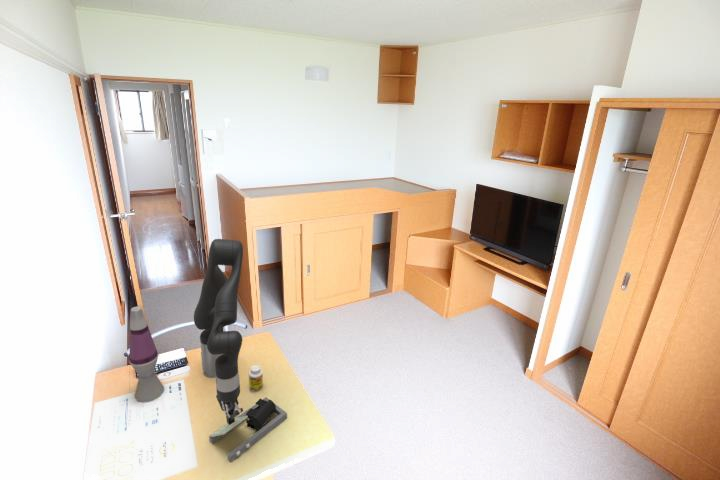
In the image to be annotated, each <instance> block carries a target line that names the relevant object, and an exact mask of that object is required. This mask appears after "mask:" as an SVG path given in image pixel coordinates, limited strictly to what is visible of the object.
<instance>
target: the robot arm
mask: <svg viewBox="0 0 720 480" xmlns="http://www.w3.org/2000/svg"><path fill="white" fill-rule="evenodd" d="M243 246H244V245H243V243H242V242H241V241H240V240H236V239H227V238H226V239H225V238H223V239H222V238H215V239H213V240H212V241H211V243H210V246H209V250H208V257H207V263H206V271H205V274H204V278H203V281H202V286H201V292H200V296H199V299H198V302H197V305H196V307H195V309H194V313H193V322H194V325H195V327H196V328H197V329H198V330H201V331H202V332H201V333H200V334H199V335H200V336H199V340H200V350H201V352H200V355H201V356H200V357H201V367H202V372H203V375H204V376H205V377H207V378H211V379H212V378H215V389H216V396H215V398H216V400H217V402H218V404H219V407H220V409H221V412H224V415H225V417H226V424H227V423H228V424H229V425H230V424H232V423H233V422H235V418H236V417H238V416H239V415H241V414H242V413H244V408H243V407H240V406H239V400H238V398H239V396H240V394H241V384H240V382H241V381H240V380H241V379H240V374H239V363H238V362H239V355H240V352H241V349H242V344H243V336H242V334H241V332H239V331H238V330H227V331H226V330H224V327H227V326H230V325H234V324H235V323H236V322H237V320H238V294H239V287H240V282H241V280H240V279H241V274H242V267H243V266H242V265H243V260H244V259H243V257H244V247H243ZM220 266H229V267H231V272H230V275H229V277H227V275H226V274H225V273H224V272H223V270H222V269H221V267H220Z"/></svg>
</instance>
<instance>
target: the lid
mask: <svg viewBox="0 0 720 480" xmlns="http://www.w3.org/2000/svg"><path fill="white" fill-rule="evenodd" d="M235 418H236V417H235ZM246 418H248V416H243V417H240V418H236V419H235V422H233V423H232V424H230V425H229V424H228V423H227V422H226V424H224V425H223V426H221V427H220V428H219V429H217V430H216V431H214V432H213V433H212V434H210V435H209V436H210V437H215V436H219V435H224V434H225V433H226V432H228V431H229V430H231V429H232V428H234V427H235V426H236V425H238V424H239V423H241V422H242V421H243V420H245V419H246ZM245 421H246V420H245ZM242 423H243V422H242ZM242 423H241V424H242ZM238 426H239V425H238ZM235 428H236V427H235ZM235 428H234V429H235ZM231 431H232V430H231ZM228 433H229V432H228ZM225 435H226V434H225ZM225 435H224V436H225Z"/></svg>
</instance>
